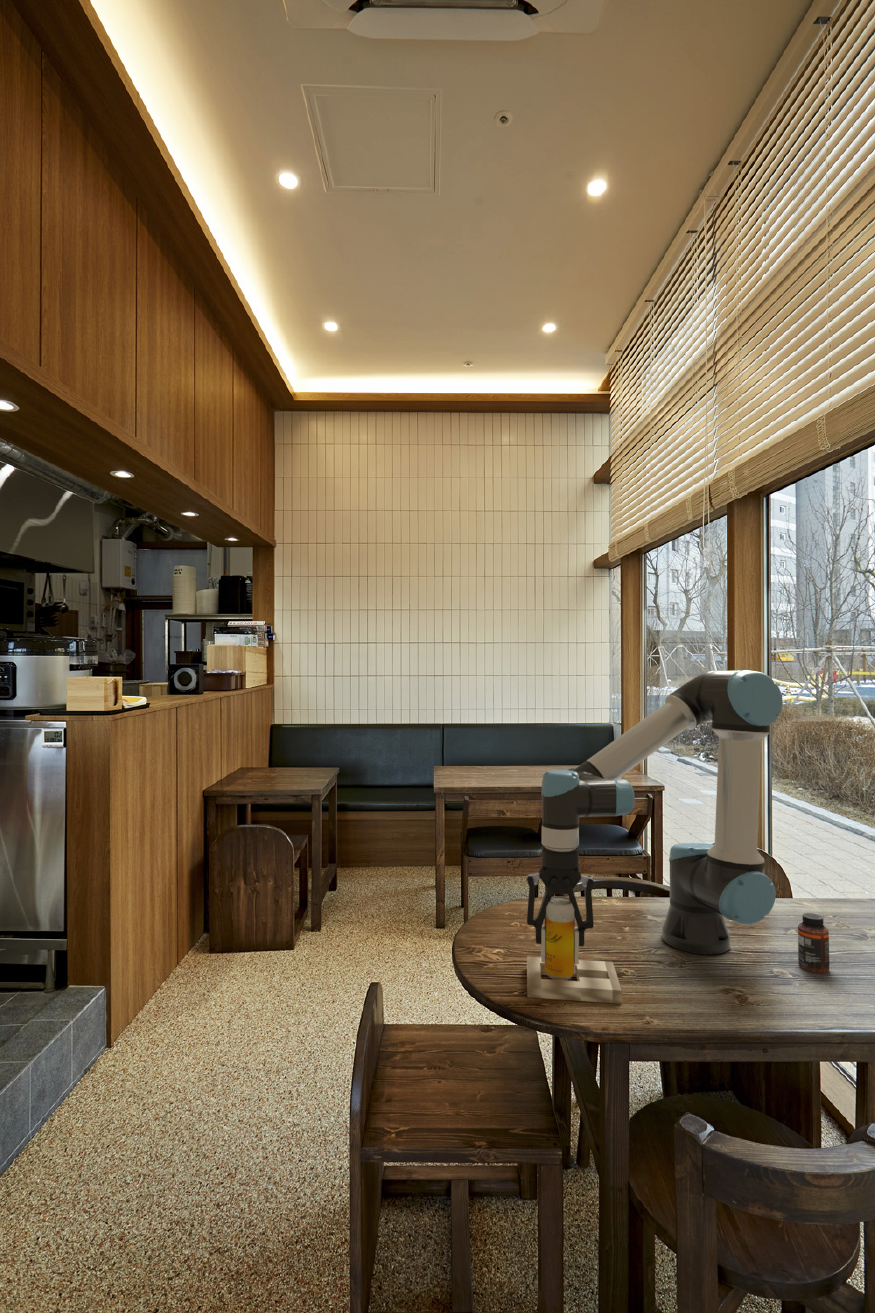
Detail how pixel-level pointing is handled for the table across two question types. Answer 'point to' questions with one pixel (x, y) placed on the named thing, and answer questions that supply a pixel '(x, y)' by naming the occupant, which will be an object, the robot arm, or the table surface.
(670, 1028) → the table surface
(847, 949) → the table surface
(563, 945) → the beer can
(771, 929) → the table surface
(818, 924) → the supplement bottle
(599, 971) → the keyhole plate
